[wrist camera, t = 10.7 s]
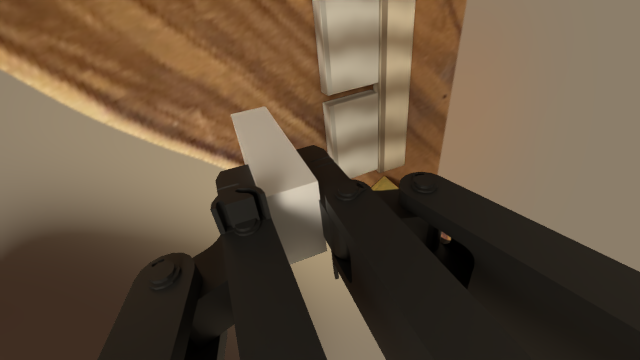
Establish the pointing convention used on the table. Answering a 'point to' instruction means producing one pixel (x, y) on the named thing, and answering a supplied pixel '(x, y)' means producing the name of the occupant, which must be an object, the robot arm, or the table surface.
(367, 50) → the plank
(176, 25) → the table surface
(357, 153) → the plank
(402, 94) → the laid board
